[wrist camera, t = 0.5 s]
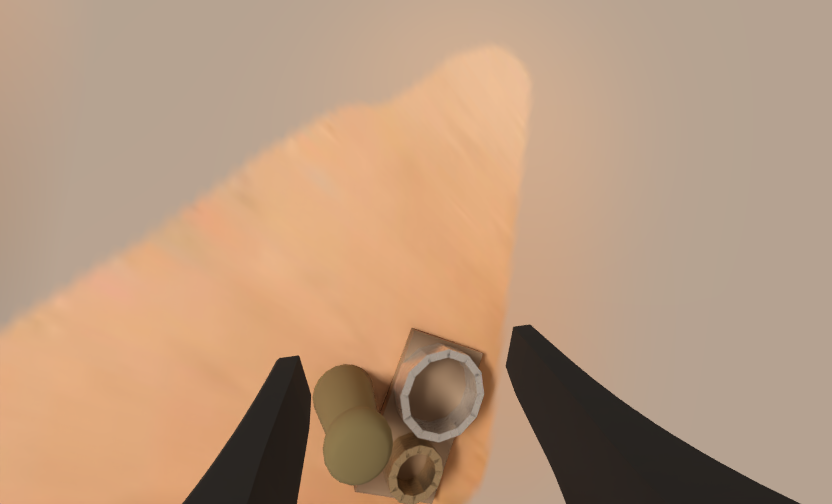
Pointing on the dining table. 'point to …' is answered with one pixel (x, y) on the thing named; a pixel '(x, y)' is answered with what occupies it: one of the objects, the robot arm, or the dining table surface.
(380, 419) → the olive bulbous peg
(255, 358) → the dining table surface
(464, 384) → the smooth grayish brown board
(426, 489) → the narrow bronze ring
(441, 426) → the wide steel ring
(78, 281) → the dining table surface
